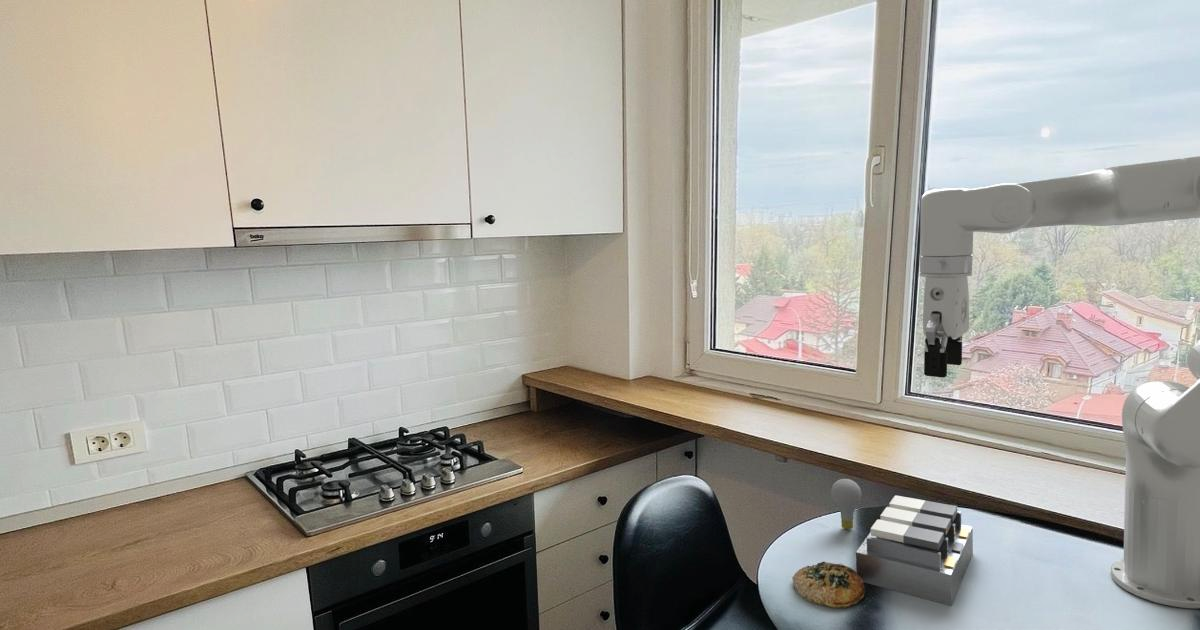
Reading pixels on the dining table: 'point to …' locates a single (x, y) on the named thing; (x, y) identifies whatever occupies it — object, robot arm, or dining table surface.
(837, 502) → the light bulb
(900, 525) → the rocker
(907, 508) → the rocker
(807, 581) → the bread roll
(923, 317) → the robot arm
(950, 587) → the switch box
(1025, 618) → the dining table surface
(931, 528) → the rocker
